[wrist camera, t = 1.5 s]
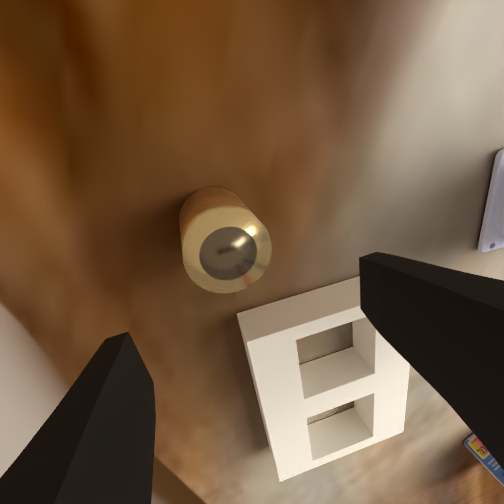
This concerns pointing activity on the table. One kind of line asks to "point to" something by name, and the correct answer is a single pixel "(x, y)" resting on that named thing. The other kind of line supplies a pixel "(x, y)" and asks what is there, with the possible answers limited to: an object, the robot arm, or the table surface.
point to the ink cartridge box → (484, 457)
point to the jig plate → (322, 378)
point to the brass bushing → (222, 241)
